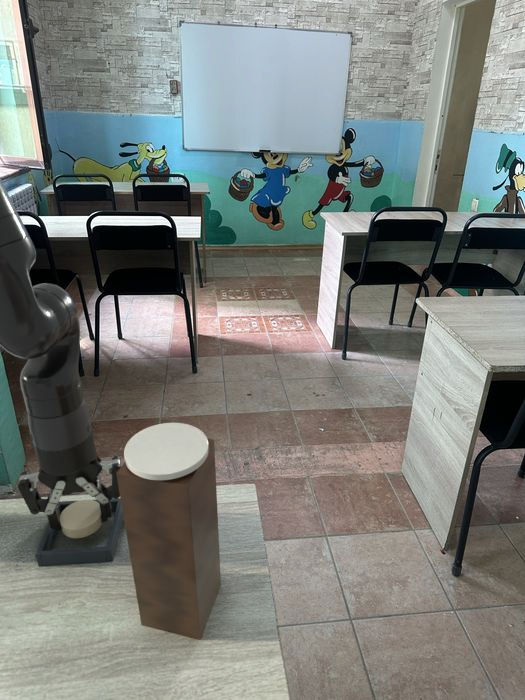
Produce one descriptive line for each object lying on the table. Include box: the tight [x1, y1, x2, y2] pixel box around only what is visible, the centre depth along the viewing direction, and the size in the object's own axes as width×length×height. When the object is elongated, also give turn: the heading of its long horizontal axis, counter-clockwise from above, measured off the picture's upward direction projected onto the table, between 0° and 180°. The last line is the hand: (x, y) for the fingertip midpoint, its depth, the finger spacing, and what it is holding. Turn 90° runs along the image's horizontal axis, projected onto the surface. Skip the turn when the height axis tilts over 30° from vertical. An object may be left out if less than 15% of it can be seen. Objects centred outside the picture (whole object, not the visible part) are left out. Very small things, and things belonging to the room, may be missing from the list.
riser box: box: [116, 437, 222, 641], centre depth 58 cm, size 8×8×26 cm
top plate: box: [60, 499, 104, 539], centre depth 72 cm, size 6×6×2 cm
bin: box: [35, 497, 124, 568], centre depth 73 cm, size 10×10×4 cm
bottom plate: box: [123, 422, 209, 480], centre depth 52 cm, size 9×9×1 cm
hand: (82, 522), depth 72 cm, fingers closed on top plate, 6 cm apart
